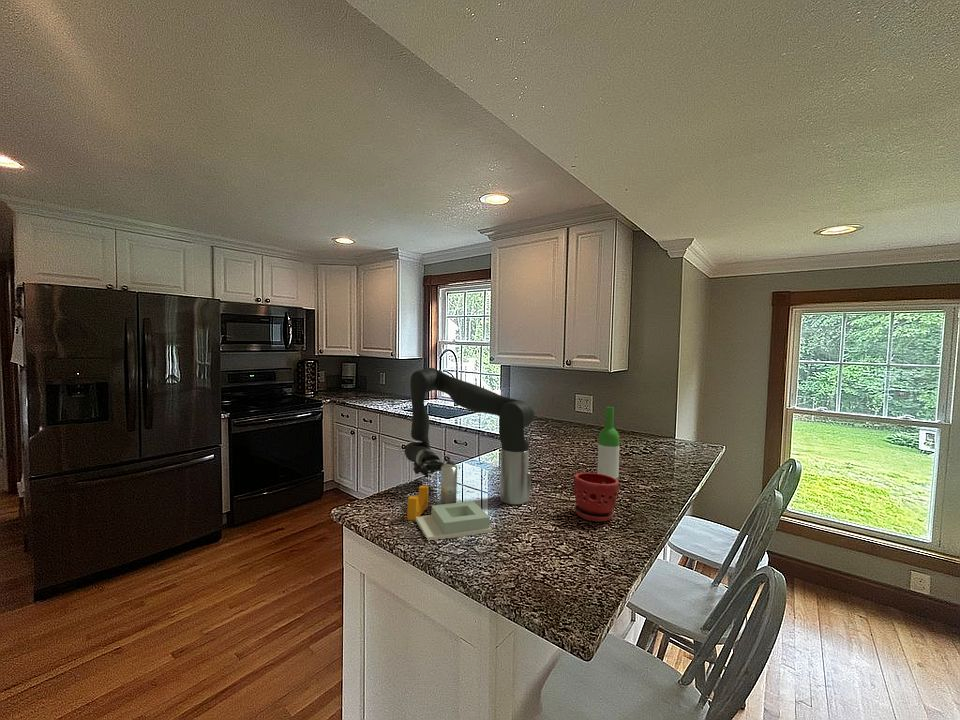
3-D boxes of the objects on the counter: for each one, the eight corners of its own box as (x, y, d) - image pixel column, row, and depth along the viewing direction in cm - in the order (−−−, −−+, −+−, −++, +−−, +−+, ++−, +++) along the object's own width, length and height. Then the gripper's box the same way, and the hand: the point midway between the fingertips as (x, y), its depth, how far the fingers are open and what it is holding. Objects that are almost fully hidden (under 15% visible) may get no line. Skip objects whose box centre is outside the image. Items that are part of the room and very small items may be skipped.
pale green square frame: (473, 513, 124) (474, 500, 124) (491, 532, 111) (492, 517, 111) (415, 520, 118) (416, 506, 118) (427, 541, 105) (428, 525, 105)
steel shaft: (453, 503, 132) (454, 463, 132) (458, 509, 127) (459, 468, 127) (438, 505, 130) (439, 464, 130) (442, 511, 125) (444, 469, 125)
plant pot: (605, 528, 116) (607, 487, 116) (565, 515, 125) (566, 476, 125) (624, 516, 126) (625, 477, 125) (585, 505, 134) (586, 469, 134)
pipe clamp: (415, 505, 130) (415, 485, 130) (428, 506, 130) (428, 486, 129) (401, 519, 118) (402, 497, 118) (415, 521, 118) (416, 499, 118)
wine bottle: (603, 480, 163) (606, 405, 163) (621, 484, 157) (624, 407, 157) (593, 483, 158) (595, 406, 158) (611, 488, 152) (614, 408, 152)
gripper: (409, 451, 151) (419, 462, 136) (446, 449, 156) (459, 460, 141) (408, 471, 151) (418, 485, 136) (445, 469, 157) (458, 481, 141)
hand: (439, 472), depth 139 cm, fingers open, 8 cm apart
